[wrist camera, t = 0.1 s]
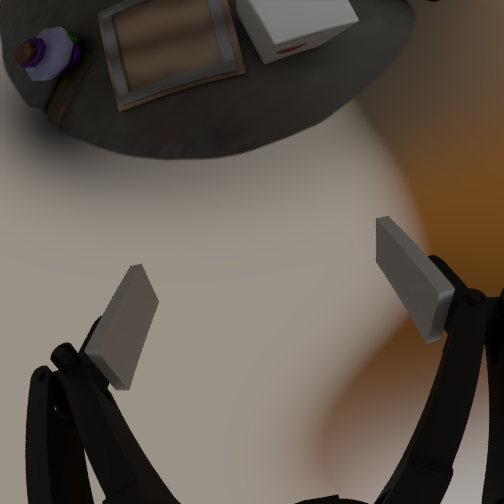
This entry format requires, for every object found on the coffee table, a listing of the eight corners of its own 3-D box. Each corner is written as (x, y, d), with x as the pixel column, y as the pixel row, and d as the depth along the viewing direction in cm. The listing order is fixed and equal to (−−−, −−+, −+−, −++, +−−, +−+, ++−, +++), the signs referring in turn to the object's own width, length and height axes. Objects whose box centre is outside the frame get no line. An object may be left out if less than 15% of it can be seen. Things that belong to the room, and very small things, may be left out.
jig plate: (103, 16, 27) (93, 12, 25) (220, -25, 26) (218, -33, 23) (124, 110, 36) (115, 112, 33) (246, 74, 34) (246, 72, 31)
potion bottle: (102, 42, 30) (58, 30, 19) (74, 89, 33) (26, 94, 23) (67, 25, 27) (22, 15, 17) (42, 70, 30) (-6, 73, 20)
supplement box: (263, 66, 33) (272, 47, 20) (235, 14, 29) (229, -27, 16) (323, 46, 32) (362, 22, 19) (296, -5, 28) (319, -49, 14)
